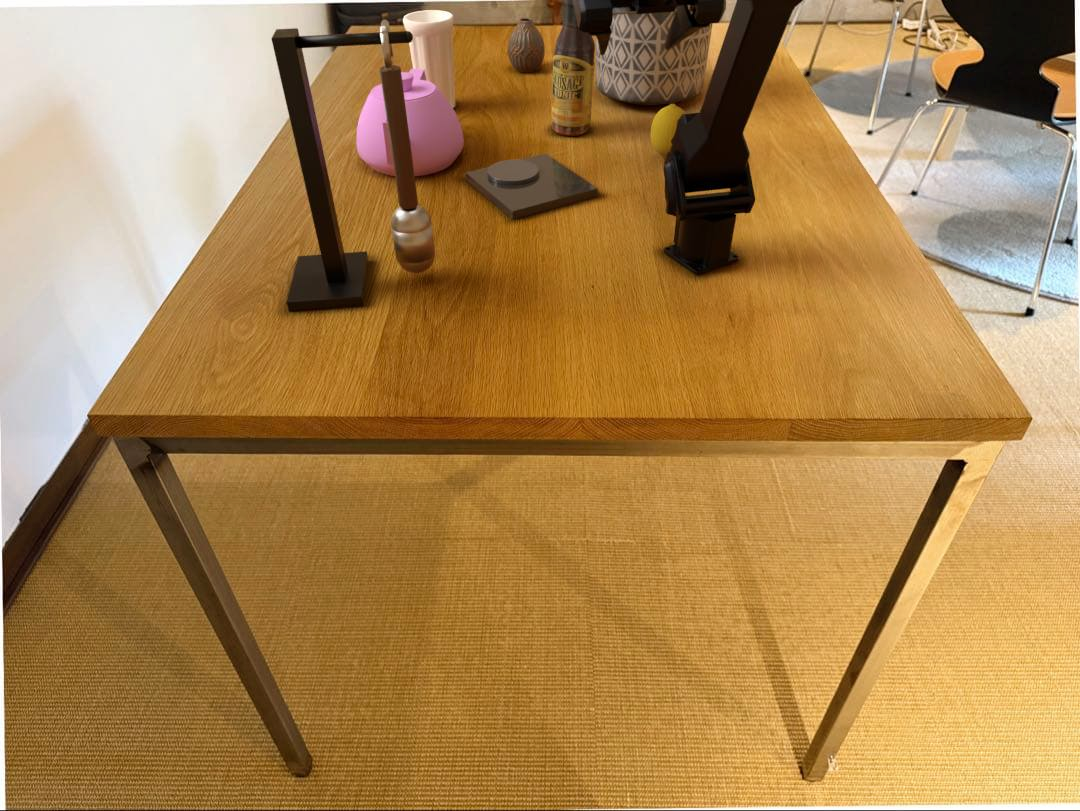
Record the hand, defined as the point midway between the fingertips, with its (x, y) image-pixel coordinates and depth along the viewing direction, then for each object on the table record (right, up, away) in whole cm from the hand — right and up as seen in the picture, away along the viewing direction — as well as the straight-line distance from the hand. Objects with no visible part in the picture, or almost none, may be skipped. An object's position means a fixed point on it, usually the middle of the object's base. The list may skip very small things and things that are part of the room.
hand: (634, 49), depth 102 cm
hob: (-14, -18, +2) cm, 23 cm away
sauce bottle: (-8, -5, +18) cm, 20 cm away
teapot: (-32, -12, +10) cm, 35 cm away
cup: (-30, +2, +27) cm, 40 cm away
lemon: (+6, -12, +9) cm, 16 cm away
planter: (+6, +6, +30) cm, 31 cm away
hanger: (-32, -34, -16) cm, 50 cm away
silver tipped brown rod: (-27, -33, -16) cm, 45 cm away
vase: (-15, +16, +42) cm, 47 cm away
